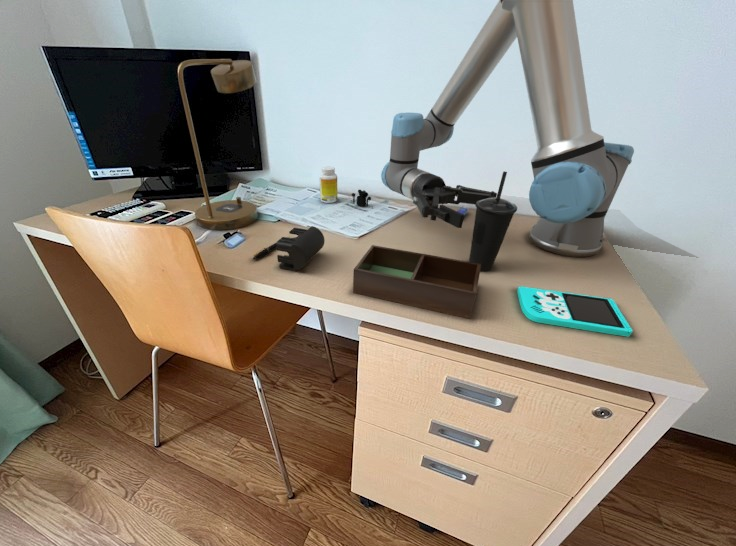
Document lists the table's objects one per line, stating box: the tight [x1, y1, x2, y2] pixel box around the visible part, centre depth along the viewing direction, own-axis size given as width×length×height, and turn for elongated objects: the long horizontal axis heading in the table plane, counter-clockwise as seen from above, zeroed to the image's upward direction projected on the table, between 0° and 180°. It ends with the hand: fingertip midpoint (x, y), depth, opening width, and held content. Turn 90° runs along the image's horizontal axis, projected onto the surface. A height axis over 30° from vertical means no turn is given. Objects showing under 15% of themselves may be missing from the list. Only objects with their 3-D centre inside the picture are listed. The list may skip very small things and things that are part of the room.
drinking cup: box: [468, 171, 518, 272], centre depth 70 cm, size 8×8×20 cm
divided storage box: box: [352, 244, 481, 319], centre depth 66 cm, size 11×22×5 cm, turn 67°
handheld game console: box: [516, 285, 633, 338], centre depth 61 cm, size 10×16×1 cm, turn 73°
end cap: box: [275, 225, 325, 272], centre depth 76 cm, size 10×7×7 cm
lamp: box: [177, 58, 258, 231], centre depth 93 cm, size 17×27×38 cm, turn 157°
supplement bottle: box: [319, 166, 338, 204], centre depth 109 cm, size 6×6×10 cm
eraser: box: [456, 206, 469, 216], centre depth 99 cm, size 2×6×2 cm, turn 145°
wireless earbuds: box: [351, 189, 372, 208], centre depth 106 cm, size 7×2×5 cm, turn 54°
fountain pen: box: [252, 236, 291, 261], centre depth 83 cm, size 14×1×2 cm, turn 150°
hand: (487, 216), depth 70 cm, fingers open, 13 cm apart
